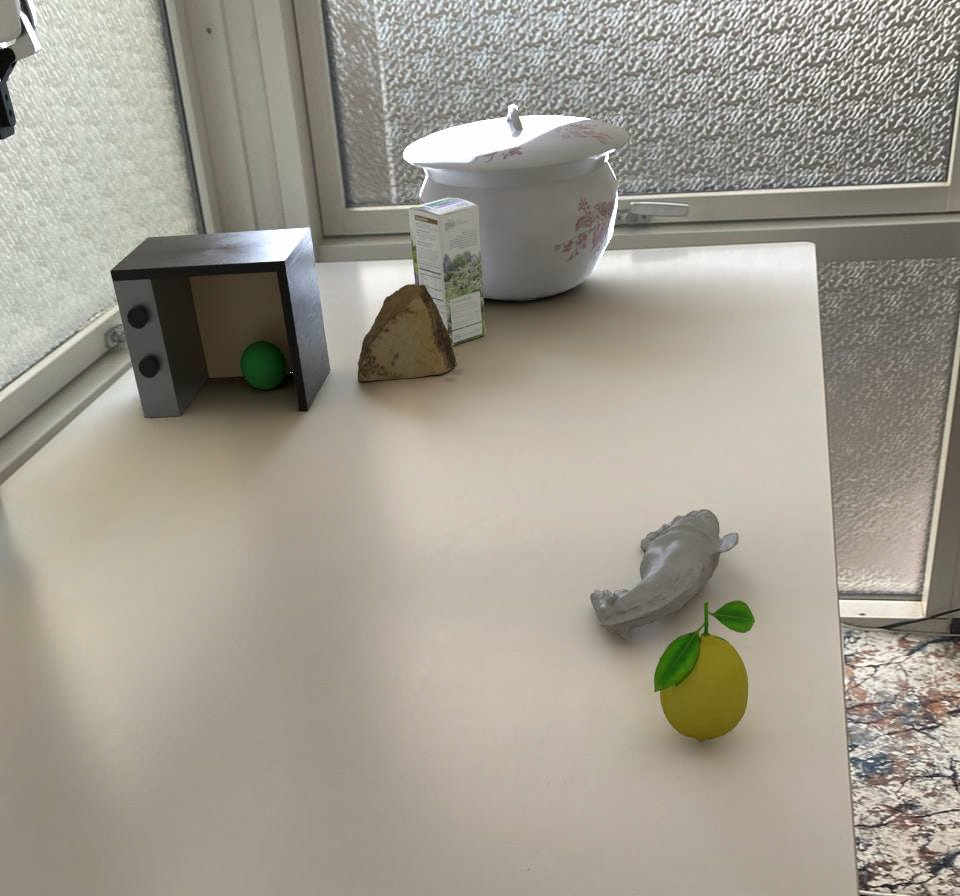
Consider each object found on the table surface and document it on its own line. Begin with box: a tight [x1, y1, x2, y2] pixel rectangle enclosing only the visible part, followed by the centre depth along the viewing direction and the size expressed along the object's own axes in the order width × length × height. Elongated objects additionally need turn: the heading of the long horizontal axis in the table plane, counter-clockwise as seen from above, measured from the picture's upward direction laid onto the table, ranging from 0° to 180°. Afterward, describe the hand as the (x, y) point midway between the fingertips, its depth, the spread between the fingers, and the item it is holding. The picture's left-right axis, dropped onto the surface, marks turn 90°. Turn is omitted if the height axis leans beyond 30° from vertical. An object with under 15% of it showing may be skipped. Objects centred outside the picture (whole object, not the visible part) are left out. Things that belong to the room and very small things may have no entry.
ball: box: [240, 341, 286, 390], centre depth 146 cm, size 5×5×5 cm
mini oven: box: [109, 227, 331, 419], centre depth 142 cm, size 18×14×15 cm
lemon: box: [653, 599, 756, 742], centre depth 83 cm, size 7×6×10 cm
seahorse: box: [589, 508, 740, 641], centre depth 102 cm, size 5×12×20 cm
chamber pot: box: [402, 103, 630, 302], centre depth 165 cm, size 28×28×21 cm
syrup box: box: [408, 198, 486, 347], centre depth 152 cm, size 6×6×14 cm
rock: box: [357, 283, 458, 382], centre depth 146 cm, size 11×9×10 cm
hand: (0, 136), depth 117 cm, fingers closed
